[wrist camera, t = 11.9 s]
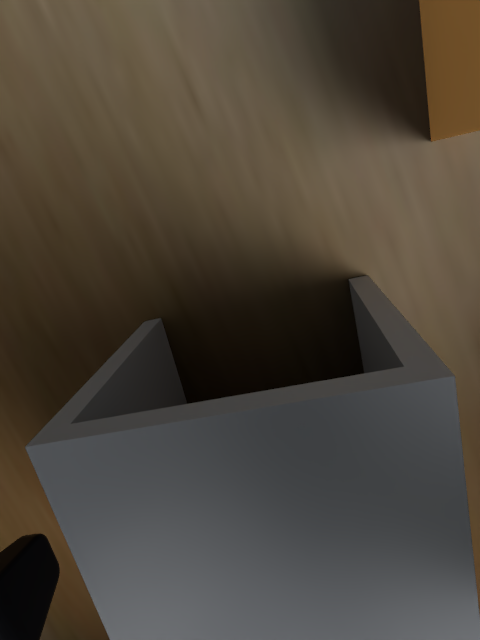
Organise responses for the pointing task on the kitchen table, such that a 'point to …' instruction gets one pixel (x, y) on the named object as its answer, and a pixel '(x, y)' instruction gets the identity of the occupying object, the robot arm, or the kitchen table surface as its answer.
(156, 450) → the grey bracket
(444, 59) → the orange cube
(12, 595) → the robot arm
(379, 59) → the kitchen table surface
